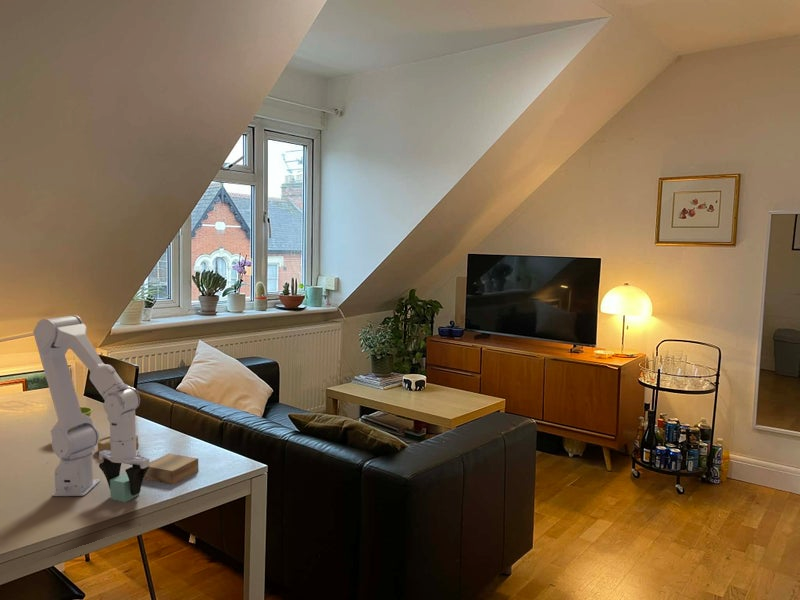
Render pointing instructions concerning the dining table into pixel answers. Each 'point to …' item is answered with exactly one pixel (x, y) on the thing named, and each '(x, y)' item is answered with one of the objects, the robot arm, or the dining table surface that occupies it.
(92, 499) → the dining table surface
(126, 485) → the teal block
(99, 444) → the alarm clock
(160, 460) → the walnut box
